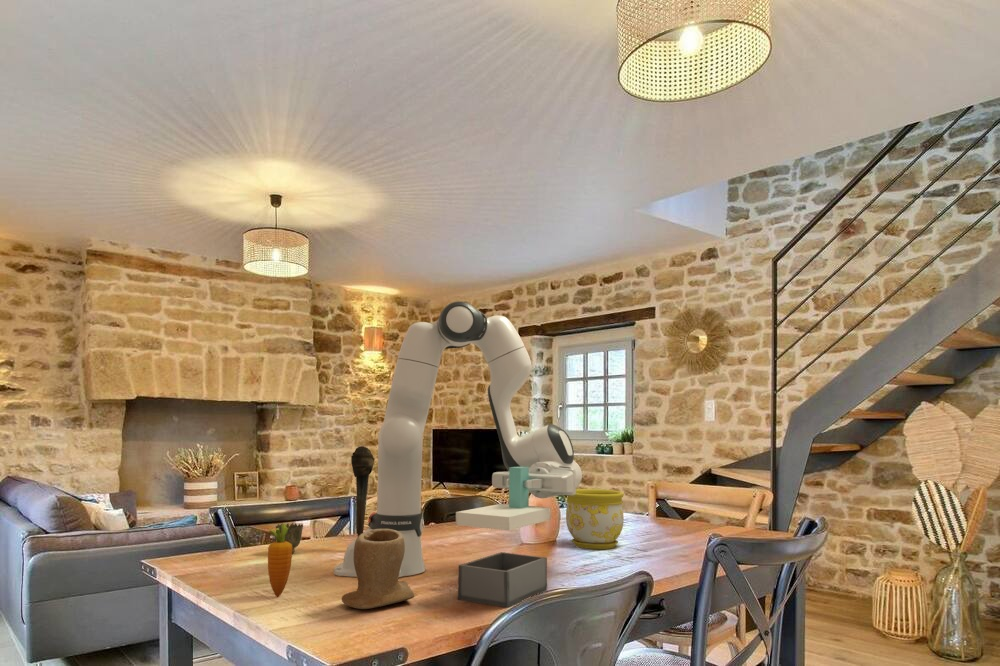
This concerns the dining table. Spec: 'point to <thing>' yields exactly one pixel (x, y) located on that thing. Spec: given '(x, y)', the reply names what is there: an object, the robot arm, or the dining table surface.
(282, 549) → the carrot
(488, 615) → the dining table surface
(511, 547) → the dining table surface
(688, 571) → the dining table surface
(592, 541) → the flowerpot
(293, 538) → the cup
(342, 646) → the dining table surface
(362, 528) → the decorative torch
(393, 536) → the brown boot-shaped piece
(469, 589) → the tub
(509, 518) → the lid
